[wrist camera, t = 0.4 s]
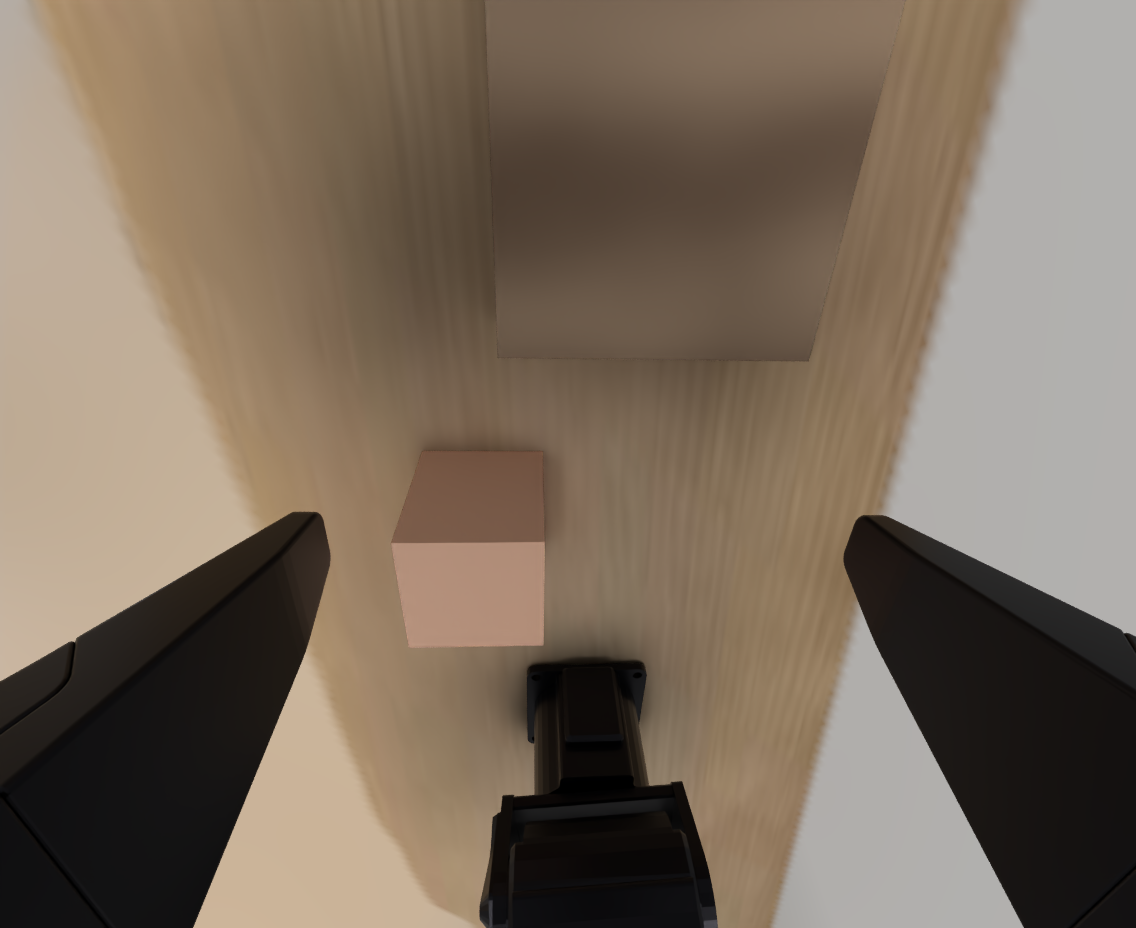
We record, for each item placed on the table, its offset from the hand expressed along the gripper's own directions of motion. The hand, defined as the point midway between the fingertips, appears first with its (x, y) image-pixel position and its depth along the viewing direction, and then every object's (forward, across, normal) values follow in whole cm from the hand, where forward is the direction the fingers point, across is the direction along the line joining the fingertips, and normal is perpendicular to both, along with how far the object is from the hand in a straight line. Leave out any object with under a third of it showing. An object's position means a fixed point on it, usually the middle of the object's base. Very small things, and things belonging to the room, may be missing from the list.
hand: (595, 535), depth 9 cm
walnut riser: (+13, -3, -5) cm, 14 cm away
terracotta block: (+13, +3, +8) cm, 16 cm away
